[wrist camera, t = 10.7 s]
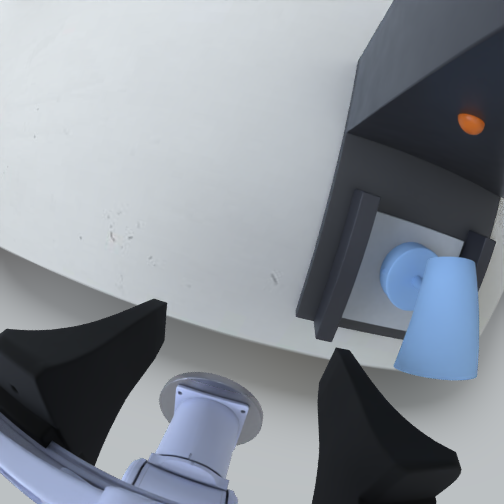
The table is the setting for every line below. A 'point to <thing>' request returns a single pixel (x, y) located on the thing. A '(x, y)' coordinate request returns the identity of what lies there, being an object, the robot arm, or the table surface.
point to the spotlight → (434, 311)
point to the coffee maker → (412, 160)
